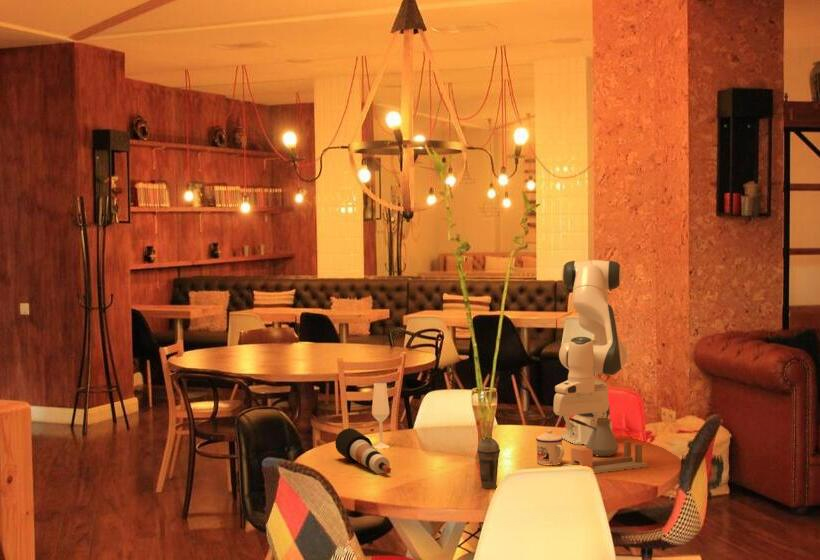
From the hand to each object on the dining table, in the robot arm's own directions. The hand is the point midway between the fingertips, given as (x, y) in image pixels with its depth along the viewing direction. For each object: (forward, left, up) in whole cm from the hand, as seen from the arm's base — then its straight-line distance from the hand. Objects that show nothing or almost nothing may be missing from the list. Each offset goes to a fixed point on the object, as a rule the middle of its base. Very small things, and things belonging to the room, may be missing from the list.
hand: (581, 426), depth 352 cm
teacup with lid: (-13, -3, -15) cm, 20 cm away
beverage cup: (+5, -38, -15) cm, 42 cm away
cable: (-40, -62, -15) cm, 75 cm away
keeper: (0, 0, -13) cm, 13 cm away
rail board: (0, +10, -15) cm, 18 cm away
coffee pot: (-17, +16, -15) cm, 28 cm away
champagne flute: (-68, -44, -15) cm, 83 cm away
